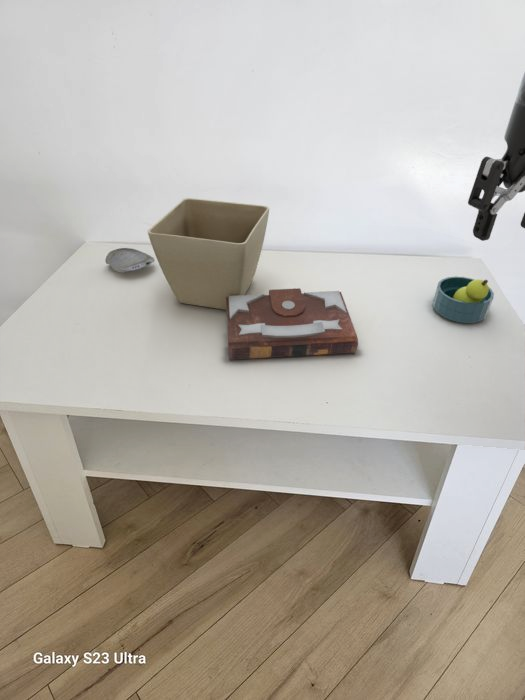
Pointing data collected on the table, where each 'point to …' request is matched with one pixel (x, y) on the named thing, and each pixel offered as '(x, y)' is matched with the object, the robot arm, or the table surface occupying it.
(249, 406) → the table surface
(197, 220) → the flower pot
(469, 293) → the pear
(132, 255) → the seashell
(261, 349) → the book
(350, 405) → the table surface
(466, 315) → the bowl
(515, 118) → the robot arm
